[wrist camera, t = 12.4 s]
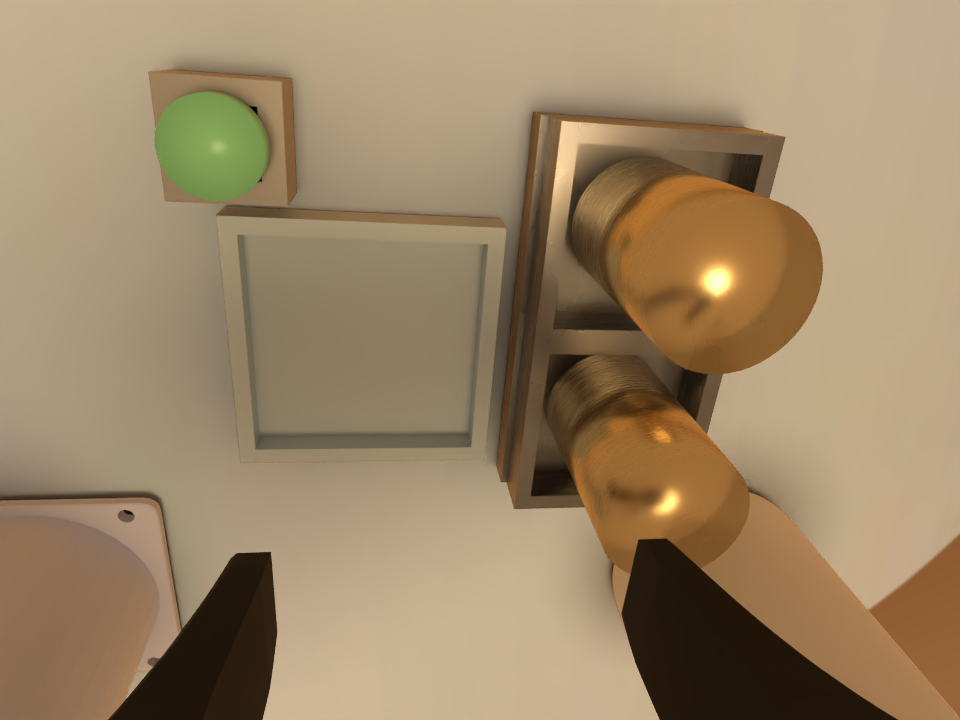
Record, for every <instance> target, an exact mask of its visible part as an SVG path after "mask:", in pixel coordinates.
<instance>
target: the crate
mask: <svg viewBox="0 0 960 720" xmlns="http://www.w3.org/2000/svg"><path fill="white" fill-rule="evenodd" d="M784 141H785V137H783V136H779V135H774V134H769V133H764V132H763V131H759V130H754V129H749V128H742V127H728V126H714V125H700V124H687V123H673V122H659V121H646V120H632V119H618V118H604V117H591V116H577V115H563V114H549V113H536V112H533V121H532V130H531V140H530V149H529V159H528V168H527V178H526V188H525V197H524V207H523V216H522V226H521V235H520V245H519V255H518V264H517V274H516V283H515V293H514V303H513V312H512V322H511V331H510V341H509V350H508V360H507V370H506V379H505V389H504V398H503V408H502V417H501V427H500V437H499V446H498V456H497V465H496V466H497V470H498V473H499V477H500V481H501V482H507V486H508V489H509V493H510V496H511V499H512V503H513V506H514V509H532V508H570V507H585V506H584V503H583V501H582V499H581V497H580V495H579V492H578V490H577V488H576V486H575V483H574V481H573V479H572V477H571V474H570V472H569V470H568V468H567V465H566V463H565V461H564V459H563V456H562V454H561V452H560V450H559V447H558V445H557V443H556V441H555V438H554V436H553V434H552V432H551V429H550V427H549V424H548V420H547V404H548V399H549V396H550V393H551V391H552V389H553V387H554V385H555V384H556V382H557V381H558V379H559V378H560V377H561V376H562V375H563V374H564V373H565V372H566V371H567V370H568V369H569V368H570V367H572V366H573V365H575V364H576V363H578V362H580V361H581V360H583V359H586V358H588V357H590V356H594V355H631V356H634V357H636V358H638V359H640V360H641V361H643V362H644V363H645V364H647V365H648V366H649V367H650V368H651V370H652V371H653V372H654V373H655V374H656V375H657V377H658V378H659V379H660V380H661V381H662V382H663V384H664V385H665V386H666V387H667V388H668V390H669V391H670V392H671V393H672V394H673V395H674V397H675V398H676V399H677V400H678V401H679V402H680V404H681V405H682V406H683V407H684V408H685V409H686V411H687V412H688V413H689V414H690V415H691V417H692V418H693V419H694V420H695V421H696V422H697V424H698V425H699V426H700V427H701V428H702V429H703V431H704V432H705V433H706V434H707V432H708V428H709V424H710V421H711V417H712V413H713V409H714V405H715V402H716V398H717V394H718V390H719V387H720V383H721V379H722V375H723V374H704V373H698V372H694V371H691V370H688V369H685V368H683V367H681V366H679V365H677V364H676V363H674V362H673V361H671V360H670V359H669V358H668V357H667V356H666V355H665V354H664V353H663V352H662V351H661V350H660V349H659V348H658V347H657V346H656V345H655V344H654V343H653V342H652V341H651V340H650V339H649V338H648V336H647V335H646V334H645V333H644V332H643V331H642V330H641V329H640V328H639V327H638V326H637V325H636V324H635V323H634V322H633V320H632V319H631V318H630V317H629V316H628V315H627V314H626V313H625V312H624V311H623V310H622V309H621V308H620V307H619V306H618V304H617V303H616V302H615V301H614V300H613V299H612V298H611V297H610V296H609V295H608V294H607V293H606V292H605V291H604V290H603V288H602V287H601V286H600V285H599V284H598V283H597V282H596V281H595V280H594V279H593V278H592V277H591V276H590V275H589V273H588V272H587V271H586V270H585V269H584V268H583V266H582V265H581V263H580V262H579V260H578V258H577V255H576V253H575V250H574V246H573V241H572V223H573V216H574V213H575V210H576V207H577V204H578V202H579V200H580V198H581V196H582V194H583V193H584V191H585V189H586V188H587V187H588V185H589V184H590V183H591V182H592V181H593V180H594V179H595V178H596V177H597V176H598V175H599V174H600V173H601V172H603V171H604V170H605V169H607V168H608V167H610V166H611V165H613V164H615V163H618V162H620V161H622V160H625V159H628V158H633V157H641V156H649V157H657V158H661V159H664V160H667V161H670V162H672V163H675V164H678V165H680V166H683V167H686V168H688V169H691V170H694V171H696V172H699V173H702V174H704V175H707V176H710V177H712V178H715V179H718V180H720V181H723V182H725V183H728V184H731V185H733V186H736V187H739V188H741V189H744V190H747V191H749V192H752V193H755V194H757V195H760V196H763V197H765V198H768V199H769V197H770V194H771V190H772V186H773V182H774V178H775V175H776V171H777V167H778V163H779V160H780V156H781V152H782V148H783V144H784Z"/></svg>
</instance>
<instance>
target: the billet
mask: <svg viewBox="0 0 960 720" xmlns="http://www.w3.org/2000/svg"><path fill="white" fill-rule="evenodd" d="M572 241H573V246H574V250H575V253H576V255H577V258H578V260H579V262H580V263H581V265H582V266H583V268H584V269H585V270H586V271H587V272H588V273H589V275H590V276H591V277H592V278H593V279H594V280H595V281H596V282H597V283H598V284H599V285H600V286H601V287H602V288H603V290H604V291H605V292H606V293H607V294H608V295H609V296H610V297H611V298H612V299H613V300H614V301H615V302H616V303H617V304H618V306H619V307H620V308H621V309H622V310H623V311H624V312H625V313H626V314H627V315H628V316H629V317H630V318H631V319H632V320H633V322H634V323H635V324H636V325H637V326H638V327H639V328H640V329H641V330H642V331H643V332H644V333H645V334H646V335H647V336H648V338H649V339H650V340H651V341H652V342H653V343H654V344H655V345H656V346H657V347H658V348H659V349H660V350H661V351H662V352H663V353H664V354H665V355H666V356H667V357H668V358H669V359H670V360H671V361H673V362H674V363H676V364H677V365H679V366H681V367H683V368H685V369H688V370H691V371H694V372H698V373H704V374H725V373H731V372H736V371H740V370H743V369H746V368H749V367H751V366H753V365H756V364H758V363H760V362H762V361H763V360H765V359H767V358H769V357H770V356H772V355H773V354H774V353H776V352H777V351H779V350H780V349H781V348H782V347H783V346H784V345H786V344H787V343H788V342H789V341H790V340H791V339H792V338H793V337H794V335H795V334H796V333H797V332H798V331H799V329H800V328H801V327H802V325H803V324H804V323H805V321H806V319H807V318H808V316H809V314H810V313H811V311H812V309H813V306H814V304H815V302H816V299H817V296H818V293H819V290H820V286H821V281H822V271H823V263H822V253H821V248H820V245H819V242H818V239H817V236H816V235H815V233H814V231H813V229H812V227H811V226H810V225H809V224H808V222H807V221H806V220H805V219H804V218H803V217H802V216H801V215H800V214H799V213H798V212H796V211H795V210H793V209H791V208H790V207H788V206H786V205H783V204H781V203H779V202H776V201H773V200H771V199H768V198H765V197H763V196H760V195H757V194H755V193H752V192H749V191H747V190H744V189H741V188H739V187H736V186H733V185H731V184H728V183H725V182H723V181H720V180H718V179H715V178H712V177H710V176H707V175H704V174H702V173H699V172H696V171H694V170H691V169H688V168H686V167H683V166H680V165H678V164H675V163H672V162H670V161H667V160H664V159H661V158H657V157H649V156H641V157H633V158H628V159H625V160H622V161H620V162H618V163H615V164H613V165H611V166H610V167H608V168H607V169H605V170H604V171H603V172H601V173H600V174H599V175H598V176H597V177H596V178H595V179H594V180H593V181H592V182H591V183H590V184H589V185H588V187H587V188H586V189H585V191H584V193H583V194H582V196H581V198H580V200H579V202H578V204H577V207H576V210H575V213H574V216H573V223H572Z"/></svg>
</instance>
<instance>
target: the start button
mask: <svg viewBox="0 0 960 720" xmlns="http://www.w3.org/2000/svg"><path fill="white" fill-rule="evenodd" d="M155 147H156V152H157V156H158V159H159V161H160V163H161V165H162V167H163V169H164V171H165V172H166V174H167V175H168V176H169V178H170V179H171V180H172V181H173V182H174V183H175V184H176V185H177V186H178V187H180V188H181V189H182V190H184V191H185V192H187V193H188V194H190V195H193V196H195V197H197V198H200V199H203V200H207V201H215V202H220V201H229V200H233V199H236V198H238V197H240V196H242V195H244V194H246V193H247V192H248V191H249V190H251V189H252V188H253V187H254V186H255V185H256V184H257V183H258V181H259V180H260V179H261V178H262V176H263V175H264V173H265V171H266V169H267V167H268V163H269V158H270V143H269V138H268V134H267V132H266V129H265V127H264V125H263V123H262V121H261V120H260V118H259V117H258V115H257V114H256V113H255V112H254V111H253V110H252V109H251V108H250V107H249V106H248V105H247V104H245V103H244V102H242V101H241V100H239V99H237V98H236V97H234V96H231V95H229V94H226V93H222V92H216V91H204V92H198V93H193V94H189V95H185V96H183V97H180V98H178V99H177V100H175V101H174V102H172V103H171V104H170V105H169V106H168V107H167V108H166V109H165V110H164V111H163V113H162V114H161V116H160V118H159V120H158V123H157V126H156V131H155Z"/></svg>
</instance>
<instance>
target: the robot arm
mask: <svg viewBox="0 0 960 720" xmlns="http://www.w3.org/2000/svg"><path fill="white" fill-rule="evenodd" d="M123 510H129V511H131V512H132V513H133V514H134V515H128V514H126V513H124V512H123ZM621 615H622V618H623V622H624V625H625V629H626V633H627V636H628V640H629V643H630V646H631V650H632V653H633V656H634V659H635V662H636V665H637V668H638V670H639V672H640V675H641V677H642V680H643V682H644V684H645V687H646V689H647V691H648V694H649V696H650V698H651V701H652V703H653V705H654V708H655V710H656V712H657V714H658V717H659V719H660V720H898V719H896V718H895V717H893V716H891V715H890V714H888V713H886V712H885V711H883V710H881V709H880V708H878V707H877V706H875V705H874V704H872V703H871V702H869V701H867V700H866V699H864V698H863V697H861V696H860V695H858V694H857V693H855V692H854V691H852V690H851V689H849V688H848V687H847V686H845V685H844V684H842V683H841V682H839V681H838V680H837V679H835V678H834V677H832V676H831V675H829V674H828V673H827V672H825V671H824V670H822V669H821V668H819V667H818V666H817V665H815V664H814V663H813V662H811V661H810V660H809V659H807V658H806V657H805V656H803V655H802V654H801V653H799V652H798V651H797V650H796V649H794V648H793V647H792V646H791V645H789V644H788V643H787V642H785V641H784V640H783V639H782V638H780V637H779V636H778V635H777V634H775V633H774V632H773V631H772V630H770V629H769V628H768V627H767V626H766V625H764V624H763V623H762V622H761V621H760V620H758V619H757V618H756V617H755V616H754V615H752V614H751V613H750V612H749V611H748V610H747V609H745V608H744V607H743V606H742V605H741V604H740V603H739V602H737V601H736V600H735V599H734V598H733V597H732V596H731V595H729V594H728V593H727V592H726V591H725V590H724V589H723V588H722V587H720V586H719V585H718V584H717V583H716V582H715V581H714V580H713V579H712V578H710V577H709V576H708V575H707V574H706V573H705V572H704V571H703V570H702V569H701V568H699V567H698V566H697V565H696V564H695V563H694V562H693V561H692V560H691V559H690V558H688V557H687V556H686V555H685V554H684V553H683V552H682V551H681V550H680V549H678V548H677V547H676V546H675V545H674V544H673V543H672V542H670V541H669V540H668V539H667V538H663V539H638V543H637V548H636V552H635V556H634V561H633V565H632V569H631V574H630V578H629V582H628V587H627V591H626V595H625V600H624V604H623V608H622V613H621ZM276 638H277V623H276V610H275V598H274V585H273V572H272V560H271V552H259V553H237V554H235V555H234V556H233V557H232V558H231V559H230V561H229V562H228V564H227V566H226V567H225V569H224V570H223V572H222V573H221V575H220V577H219V578H218V580H217V581H216V583H215V584H214V586H213V587H212V589H211V590H210V592H209V593H208V595H207V596H206V598H205V599H204V600H203V602H202V603H201V605H200V606H199V608H198V609H197V610H196V612H195V613H194V615H193V616H192V617H191V619H190V620H189V621H188V623H187V624H186V625H185V627H184V628H183V629H182V631H181V627H180V621H179V615H178V609H177V603H176V597H175V591H174V585H173V579H172V573H171V567H170V561H169V555H168V549H167V543H166V537H165V531H164V525H163V519H162V513H161V508H160V506H159V504H158V503H157V502H156V501H154V500H152V499H150V498H96V499H49V500H2V501H0V720H262V719H263V715H264V711H265V707H266V703H267V698H268V694H269V690H270V684H271V677H272V669H273V662H274V654H275V646H276ZM155 657H157V658H155ZM136 671H149V672H148V674H147V675H146V676H145V677H144V679H143V680H142V681H141V682H140V683H139V685H138V686H137V687H136V688H135V689H134V691H133V692H132V693H131V694H130V695H129V696H128V698H127V699H126V700H125V698H126V696H127V693H128V691H129V688H130V686H131V683H132V681H133V678H134V676H135V673H136Z"/></svg>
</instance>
